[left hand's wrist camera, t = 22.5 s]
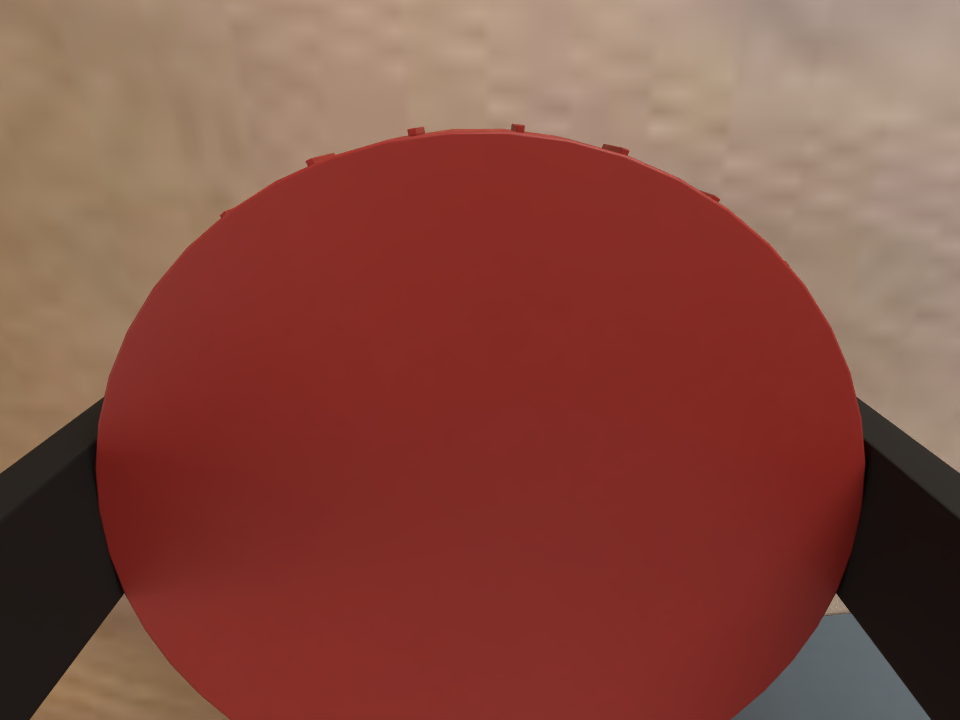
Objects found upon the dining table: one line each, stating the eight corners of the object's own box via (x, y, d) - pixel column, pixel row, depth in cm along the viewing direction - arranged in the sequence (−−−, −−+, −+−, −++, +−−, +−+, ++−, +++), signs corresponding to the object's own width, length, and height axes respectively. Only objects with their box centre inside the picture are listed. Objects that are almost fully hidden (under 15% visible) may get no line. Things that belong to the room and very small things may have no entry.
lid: (284, -25, 9) (236, -60, 7) (948, 325, 11) (1043, 366, 9) (78, 589, 13) (10, 668, 11) (603, 779, 15) (621, 875, 13)
